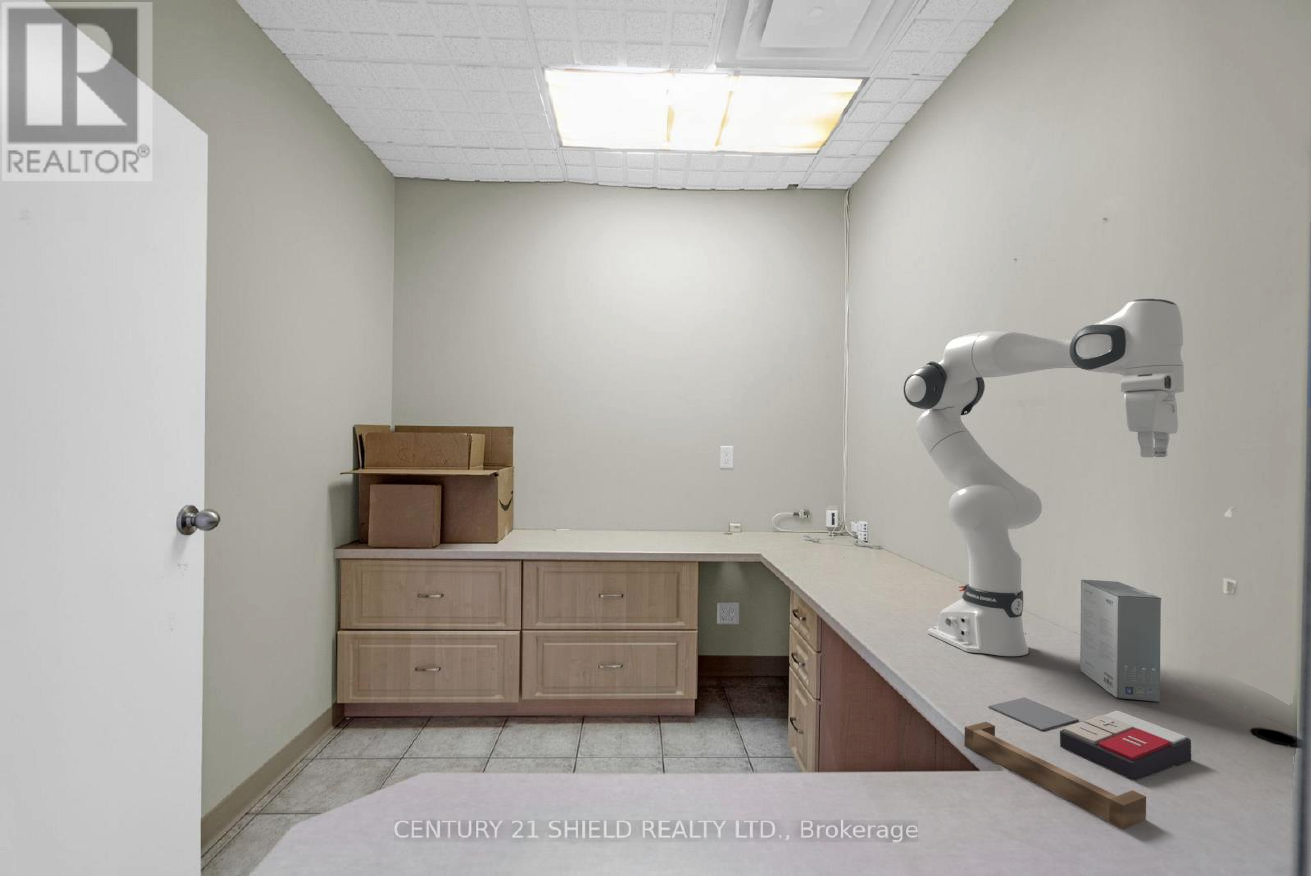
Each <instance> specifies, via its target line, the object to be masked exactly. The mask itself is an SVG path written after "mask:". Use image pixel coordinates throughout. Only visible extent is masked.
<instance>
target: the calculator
mask: <svg viewBox="0 0 1311 876" xmlns="http://www.w3.org/2000/svg"><path fill="white" fill-rule="evenodd" d="M1059 746H1060V747H1059V748H1061V749H1063V750H1066V751H1068V752H1070V753H1072V754H1075V755H1077V756H1079V757H1082V758H1083V759H1086V760H1088V761H1090V762H1093V763H1095V764H1097V765H1098V766H1101V767H1103V768H1105V769H1107V770H1110V771H1112V772H1114V773H1116V774H1119V775H1121V776H1123V777H1125V778H1126V779H1129V780H1131V781H1138V780H1141V779H1144V778H1147V777H1150V776H1152V775H1155V774H1157V773H1160V772H1163V771H1166V770H1167V769H1169V768H1171V767H1174V766H1175V767H1178V766H1182V765H1184V764H1187V763H1190V762H1192V740H1191V739H1190V738H1189V737H1187V736H1185V735H1183V734H1180V733H1178V732H1176V731H1173V730H1171V729H1168V728H1165V727H1162V726H1161V725H1160V726H1159V725H1157V724H1154V723H1152V722H1150V721H1147V720H1143V719H1141V718H1139V717H1135V716H1133V715H1131V714H1127V713H1125V712H1123V711H1119V710H1114V711H1111V712H1108V713H1106V714H1100V715H1097V716H1094V717H1091V718H1089V719H1086V720H1084V721H1080V722H1077V723H1075V724H1072V725H1068V726H1066V727H1064V729H1061V730H1059Z"/></svg>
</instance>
